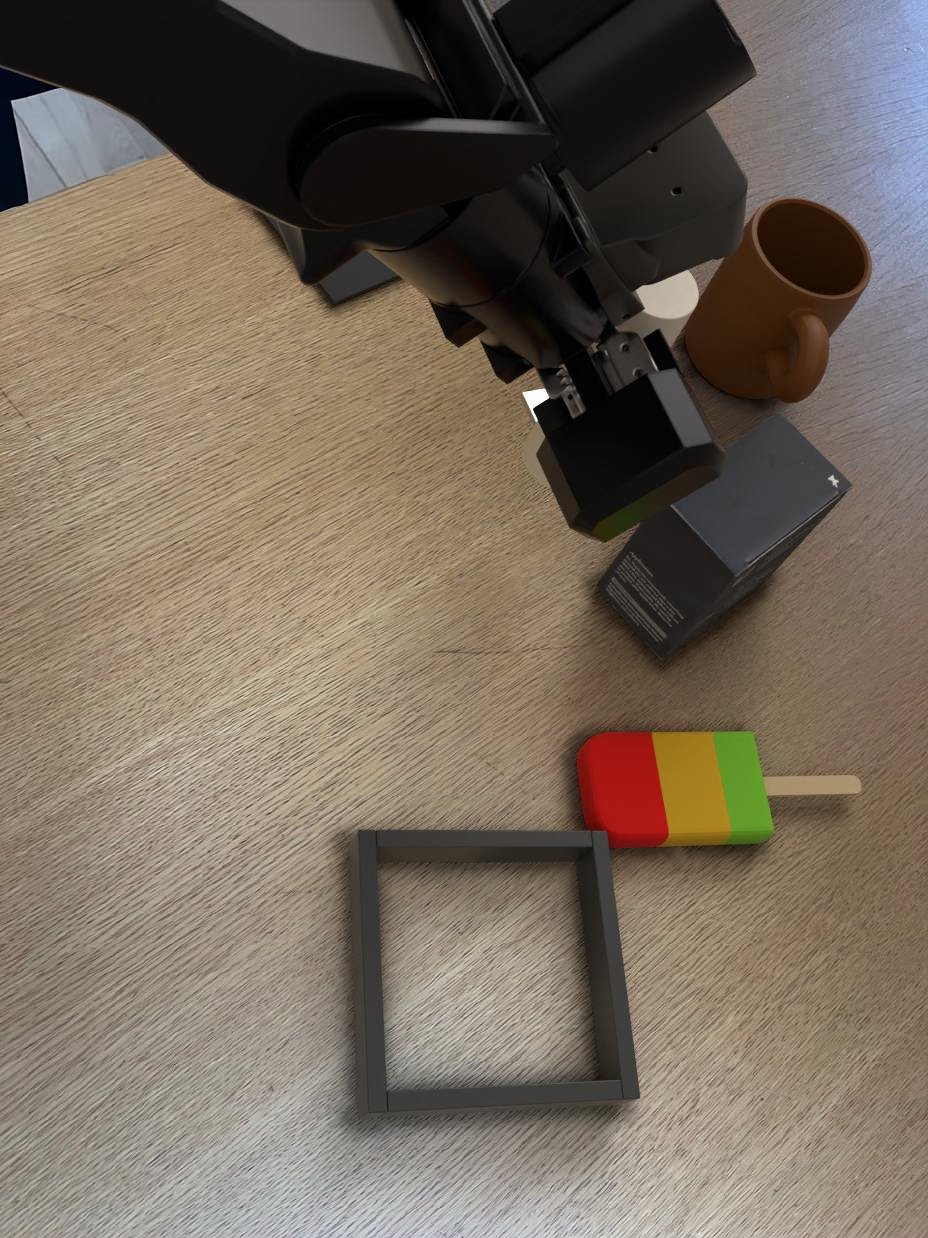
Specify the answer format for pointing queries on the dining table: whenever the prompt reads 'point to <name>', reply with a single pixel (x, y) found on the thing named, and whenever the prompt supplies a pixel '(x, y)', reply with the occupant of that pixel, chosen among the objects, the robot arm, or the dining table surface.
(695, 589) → the box
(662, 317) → the white tall round cylinder
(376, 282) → the rubber mat
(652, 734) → the popsicle
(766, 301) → the mug
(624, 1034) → the grey picture frame
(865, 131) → the dining table surface
